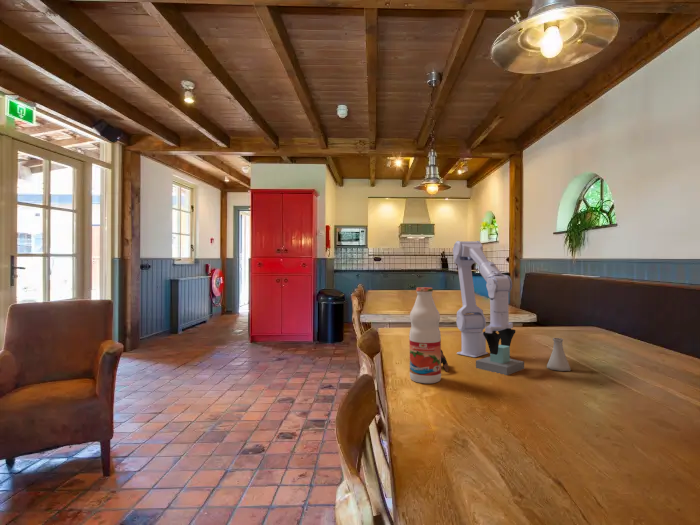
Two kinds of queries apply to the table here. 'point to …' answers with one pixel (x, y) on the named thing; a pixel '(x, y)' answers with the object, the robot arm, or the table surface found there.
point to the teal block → (501, 354)
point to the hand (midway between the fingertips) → (499, 352)
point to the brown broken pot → (444, 361)
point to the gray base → (500, 366)
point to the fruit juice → (425, 339)
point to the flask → (558, 357)
